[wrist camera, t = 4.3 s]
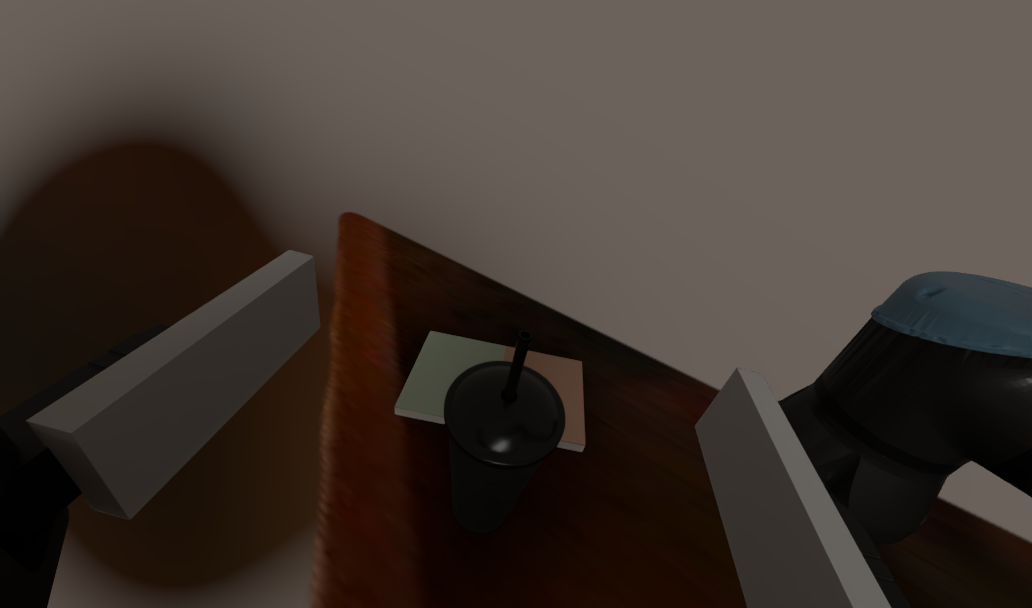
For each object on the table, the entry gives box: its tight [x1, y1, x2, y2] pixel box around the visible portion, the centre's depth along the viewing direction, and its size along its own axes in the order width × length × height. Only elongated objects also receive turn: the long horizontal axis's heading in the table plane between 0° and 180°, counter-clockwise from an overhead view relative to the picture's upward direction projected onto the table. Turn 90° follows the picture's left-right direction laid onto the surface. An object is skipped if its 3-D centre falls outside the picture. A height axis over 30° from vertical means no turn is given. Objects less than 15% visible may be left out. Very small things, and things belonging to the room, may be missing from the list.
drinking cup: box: [444, 330, 566, 533], centre depth 27 cm, size 8×8×20 cm
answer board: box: [395, 331, 585, 452], centre depth 43 cm, size 19×12×1 cm, turn 83°
